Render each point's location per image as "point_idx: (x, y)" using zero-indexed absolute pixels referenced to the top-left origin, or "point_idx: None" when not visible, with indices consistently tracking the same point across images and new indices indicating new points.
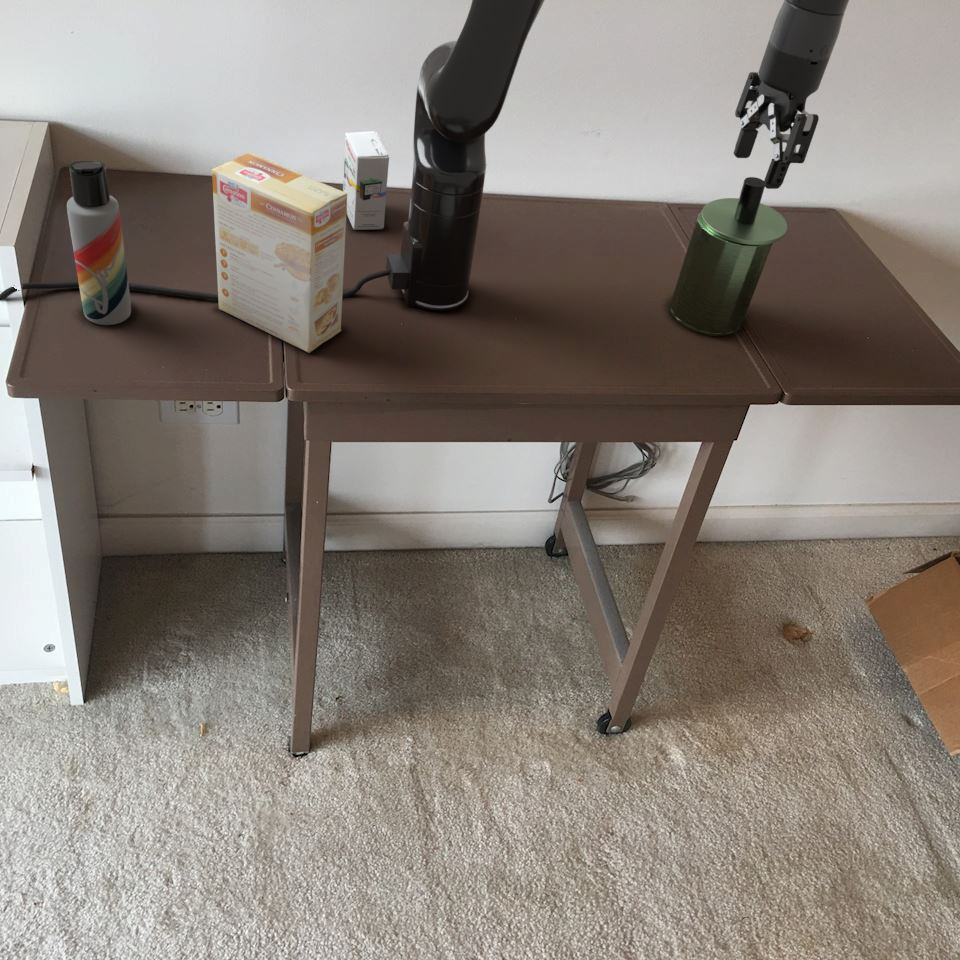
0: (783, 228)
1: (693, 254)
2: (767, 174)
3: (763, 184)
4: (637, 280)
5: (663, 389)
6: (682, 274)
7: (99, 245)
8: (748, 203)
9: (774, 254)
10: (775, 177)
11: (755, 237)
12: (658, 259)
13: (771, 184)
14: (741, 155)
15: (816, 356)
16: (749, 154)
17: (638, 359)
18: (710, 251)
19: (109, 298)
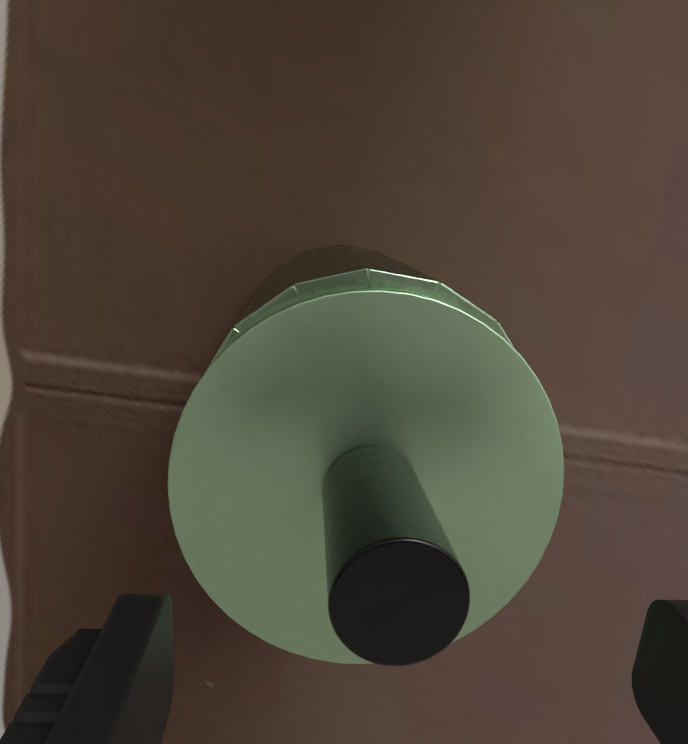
0: (254, 619)
1: (357, 257)
2: (124, 666)
3: (166, 594)
4: (530, 228)
5: (15, 40)
6: (381, 257)
7: None
8: (338, 508)
9: (562, 649)
10: (23, 707)
11: (204, 460)
12: (611, 342)
13: (73, 640)
14: (655, 646)
15: (146, 537)
16: (645, 711)
17: (159, 32)
18: (284, 283)
19: None
